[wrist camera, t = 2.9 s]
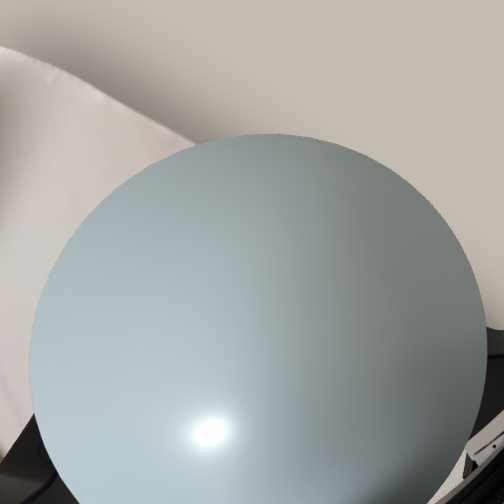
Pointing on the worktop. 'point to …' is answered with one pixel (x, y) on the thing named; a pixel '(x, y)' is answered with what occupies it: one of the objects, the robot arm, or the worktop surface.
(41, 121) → the worktop surface
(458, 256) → the pale blue rounded cylinder
